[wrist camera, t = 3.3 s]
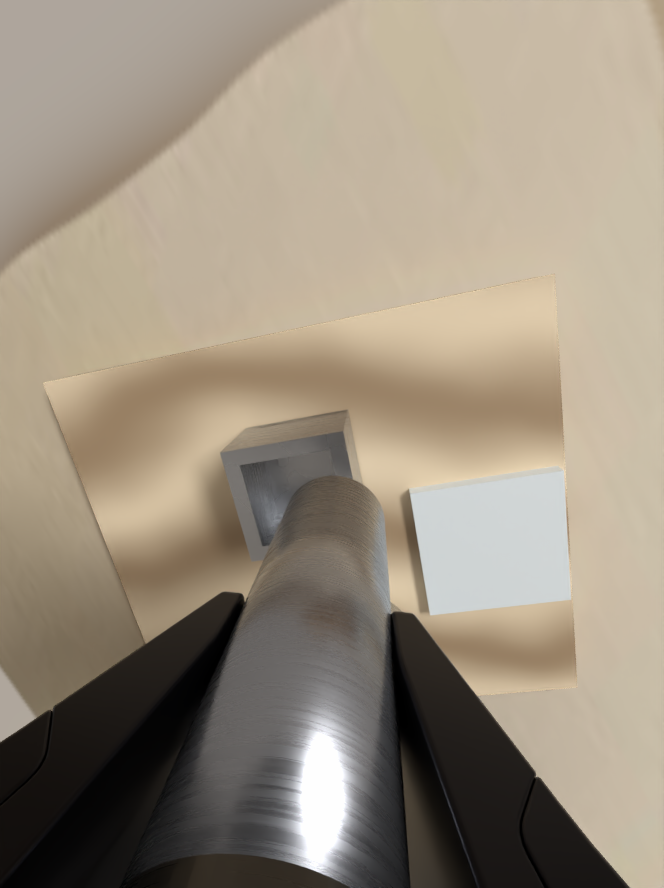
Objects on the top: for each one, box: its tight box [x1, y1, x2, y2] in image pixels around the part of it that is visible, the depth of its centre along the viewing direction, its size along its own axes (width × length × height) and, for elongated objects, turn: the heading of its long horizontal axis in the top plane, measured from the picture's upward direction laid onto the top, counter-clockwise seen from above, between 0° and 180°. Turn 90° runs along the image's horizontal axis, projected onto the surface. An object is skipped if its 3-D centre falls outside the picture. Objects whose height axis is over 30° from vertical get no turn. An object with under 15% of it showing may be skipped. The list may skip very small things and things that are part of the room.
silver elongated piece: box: [220, 409, 402, 614], centre depth 18 cm, size 16×7×6 cm, turn 12°
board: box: [43, 274, 577, 696], centre depth 21 cm, size 20×22×2 cm
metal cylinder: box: [119, 476, 411, 888], centre depth 7 cm, size 3×3×10 cm
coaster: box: [409, 466, 571, 615], centre depth 19 cm, size 6×6×1 cm
